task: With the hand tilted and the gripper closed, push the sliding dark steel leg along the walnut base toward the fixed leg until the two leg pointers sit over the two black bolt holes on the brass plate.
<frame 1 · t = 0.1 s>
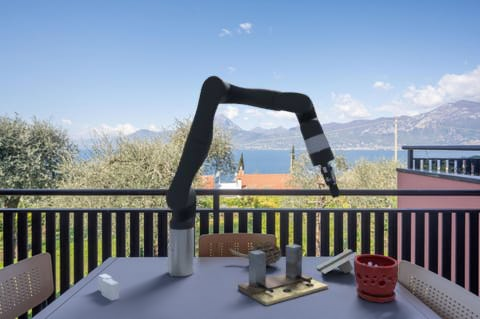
hand: (336, 195, 116), 31 cm above the table, tool tilted 20°, fingers open, 8 cm apart
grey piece: (336, 273, 135), on the table
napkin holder: (109, 295, 113), on the table
bolt plate: (291, 292, 114), on the table
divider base: (276, 285, 121), on the table
plant pot: (375, 298, 111), on the table
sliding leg: (260, 270, 115), point 7 cm above the table, slide at 0.0 cm
pine cone: (254, 265, 144), on the table
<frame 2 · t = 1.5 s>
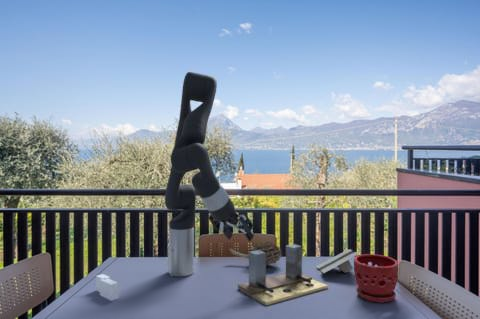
hand: (240, 238, 112), 18 cm above the table, tool tilted 40°, fingers open, 8 cm apart
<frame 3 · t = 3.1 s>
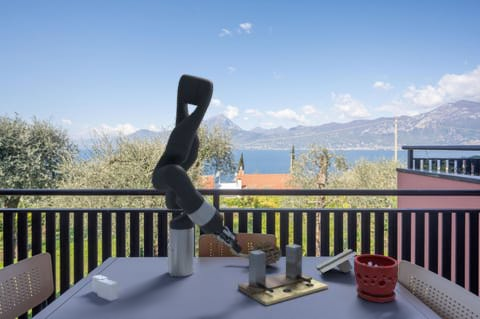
hand: (239, 250, 112), 14 cm above the table, tool tilted 45°, fingers closed
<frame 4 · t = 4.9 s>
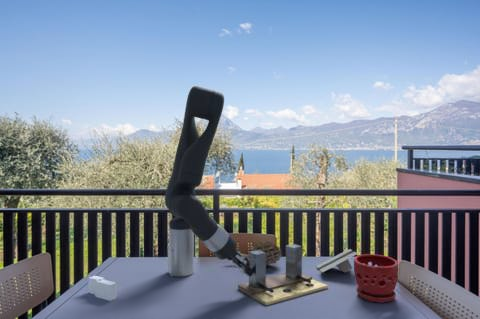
hand: (251, 273, 115), 6 cm above the table, tool tilted 45°, fingers closed
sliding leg: (260, 270, 115), point 7 cm above the table, slide at 0.0 cm, touching gripper
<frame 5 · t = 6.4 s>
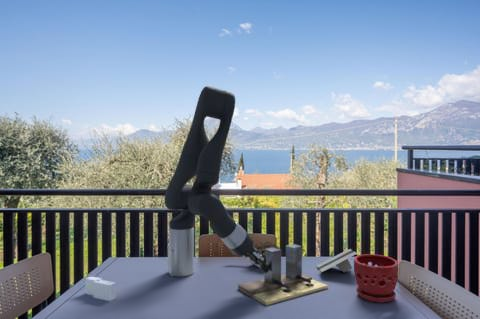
hand: (266, 270, 119), 6 cm above the table, tool tilted 45°, fingers closed
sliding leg: (275, 266, 118), point 7 cm above the table, slide at 6.5 cm, touching gripper
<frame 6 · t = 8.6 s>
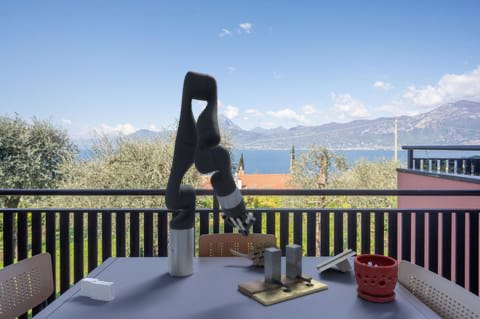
hand: (246, 234, 122), 17 cm above the table, tool tilted 40°, fingers closed
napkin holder: (97, 298, 111), on the table
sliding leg: (276, 266, 118), point 7 cm above the table, slide at 6.5 cm
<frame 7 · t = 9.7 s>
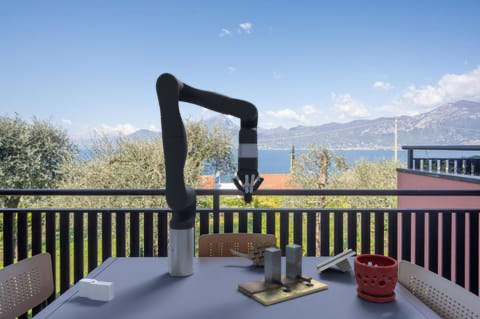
hand: (247, 202, 131), 27 cm above the table, tool pointing down, fingers closed
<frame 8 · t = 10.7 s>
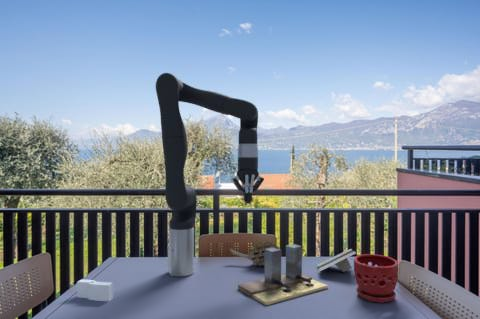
hand: (247, 202, 131), 27 cm above the table, tool pointing down, fingers closed
at the end: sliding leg slide at 6.5 cm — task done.
